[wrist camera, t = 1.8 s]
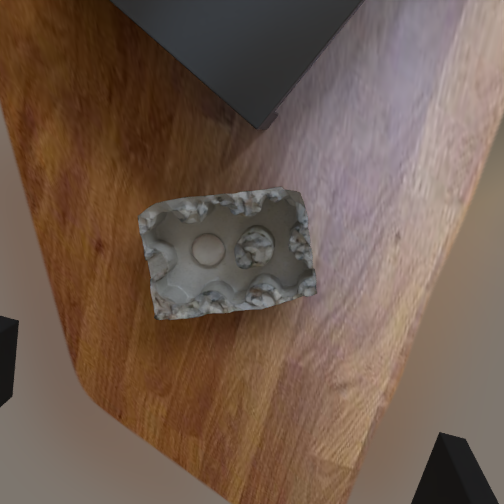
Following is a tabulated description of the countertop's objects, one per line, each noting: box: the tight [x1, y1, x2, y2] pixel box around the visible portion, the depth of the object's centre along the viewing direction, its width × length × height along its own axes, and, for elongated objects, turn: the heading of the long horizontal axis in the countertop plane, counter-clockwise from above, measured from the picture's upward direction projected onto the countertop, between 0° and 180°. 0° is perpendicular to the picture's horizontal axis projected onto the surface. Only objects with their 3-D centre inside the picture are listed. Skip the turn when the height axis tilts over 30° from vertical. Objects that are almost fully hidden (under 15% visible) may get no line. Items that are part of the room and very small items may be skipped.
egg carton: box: [138, 187, 317, 320], centre depth 29 cm, size 11×8×4 cm
